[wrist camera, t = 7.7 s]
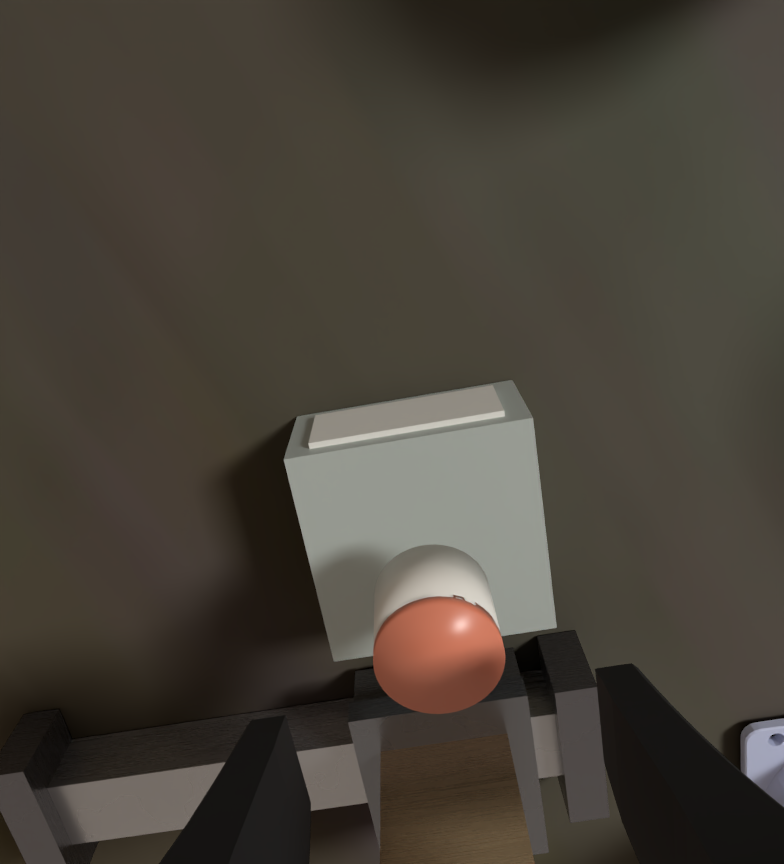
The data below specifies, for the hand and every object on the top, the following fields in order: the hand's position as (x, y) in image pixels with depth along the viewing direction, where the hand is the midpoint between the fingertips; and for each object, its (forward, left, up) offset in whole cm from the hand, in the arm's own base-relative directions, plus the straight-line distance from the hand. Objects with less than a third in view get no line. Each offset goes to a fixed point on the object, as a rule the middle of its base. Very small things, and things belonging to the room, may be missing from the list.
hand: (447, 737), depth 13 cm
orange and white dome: (0, 0, -4) cm, 4 cm away
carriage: (+1, +8, -9) cm, 12 cm away
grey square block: (0, 0, -9) cm, 9 cm away
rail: (+5, +8, -9) cm, 13 cm away
